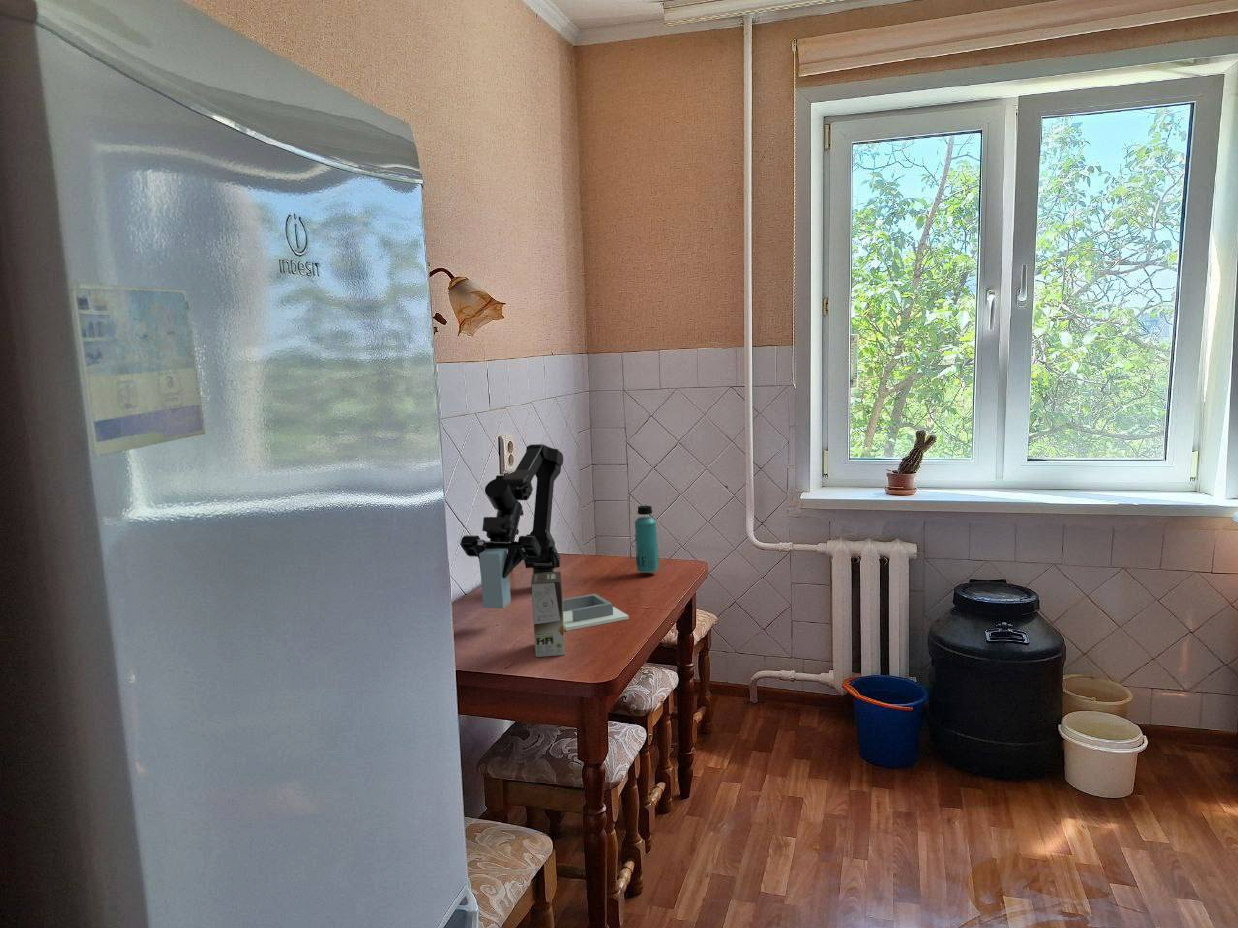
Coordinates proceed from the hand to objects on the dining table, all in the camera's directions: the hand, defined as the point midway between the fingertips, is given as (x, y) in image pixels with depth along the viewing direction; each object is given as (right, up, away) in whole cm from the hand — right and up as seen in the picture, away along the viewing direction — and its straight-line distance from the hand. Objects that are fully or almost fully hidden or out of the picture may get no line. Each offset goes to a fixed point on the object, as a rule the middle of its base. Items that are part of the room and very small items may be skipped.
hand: (492, 577), depth 193 cm
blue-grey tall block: (+1, -7, +2) cm, 7 cm away
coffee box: (+15, -14, -14) cm, 25 cm away
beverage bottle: (+38, -5, +44) cm, 58 cm away
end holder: (+21, -11, +8) cm, 25 cm away
